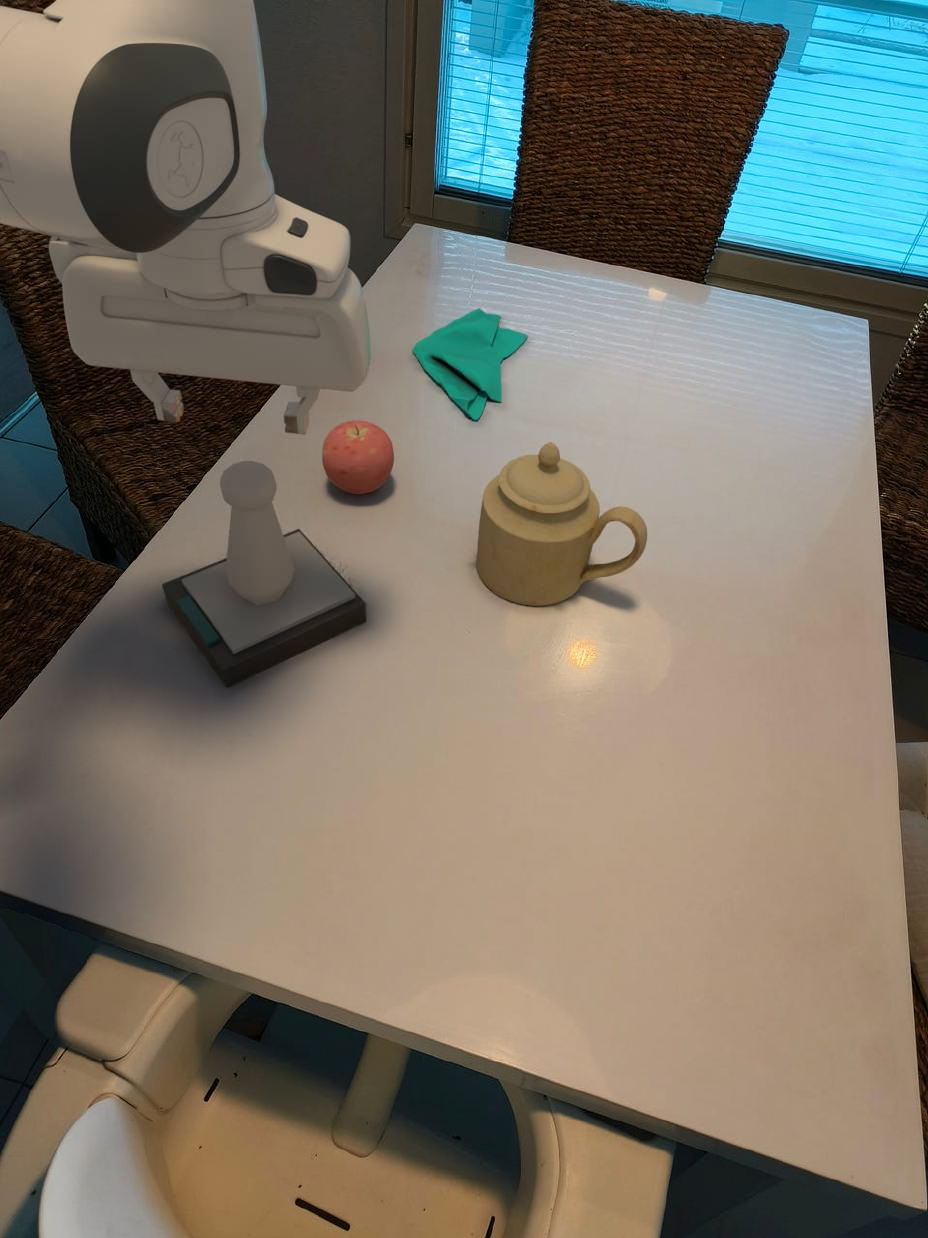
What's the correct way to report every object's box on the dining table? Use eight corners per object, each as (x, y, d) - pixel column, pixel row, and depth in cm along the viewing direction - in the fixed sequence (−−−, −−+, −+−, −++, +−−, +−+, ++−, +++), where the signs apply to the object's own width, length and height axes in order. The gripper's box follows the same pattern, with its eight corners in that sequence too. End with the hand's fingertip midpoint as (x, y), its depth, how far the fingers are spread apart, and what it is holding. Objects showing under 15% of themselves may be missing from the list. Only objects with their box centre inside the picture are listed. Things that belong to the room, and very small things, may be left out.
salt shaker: (267, 622, 73) (250, 505, 64) (215, 595, 75) (191, 478, 65) (308, 582, 77) (298, 466, 67) (258, 557, 79) (242, 441, 69)
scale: (226, 688, 72) (221, 665, 70) (166, 603, 78) (160, 579, 76) (366, 621, 78) (365, 598, 76) (300, 547, 84) (298, 523, 82)
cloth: (443, 304, 120) (443, 289, 118) (537, 323, 118) (539, 308, 117) (381, 400, 103) (381, 384, 101) (491, 425, 101) (492, 408, 99)
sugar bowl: (617, 537, 89) (651, 415, 78) (628, 614, 81) (667, 491, 70) (476, 526, 88) (489, 402, 77) (473, 603, 81) (488, 477, 70)
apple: (383, 514, 89) (383, 451, 83) (315, 501, 89) (310, 438, 83) (400, 472, 94) (402, 410, 88) (336, 460, 94) (333, 397, 88)
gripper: (19, 241, 51) (79, 433, 61) (359, 275, 51) (362, 462, 61) (60, 199, 55) (110, 386, 65) (373, 231, 55) (374, 412, 66)
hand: (234, 423), depth 63 cm, fingers open, 8 cm apart
